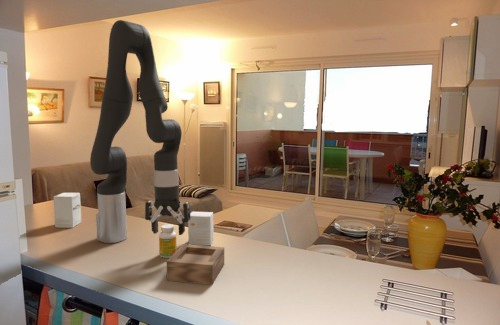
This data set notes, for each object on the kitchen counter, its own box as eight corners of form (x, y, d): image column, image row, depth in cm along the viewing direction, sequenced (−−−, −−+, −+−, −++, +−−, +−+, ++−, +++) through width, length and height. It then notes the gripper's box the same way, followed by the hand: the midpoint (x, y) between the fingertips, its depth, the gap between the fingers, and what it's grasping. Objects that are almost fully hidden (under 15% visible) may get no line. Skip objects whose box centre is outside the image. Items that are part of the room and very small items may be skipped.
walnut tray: (167, 280, 100) (166, 261, 99) (183, 261, 112) (183, 244, 111) (212, 284, 97) (212, 265, 97) (224, 264, 110) (224, 247, 109)
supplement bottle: (161, 259, 113) (161, 229, 112) (157, 253, 118) (157, 224, 117) (178, 256, 116) (178, 227, 114) (174, 250, 120) (173, 222, 119)
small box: (213, 240, 131) (213, 211, 129) (210, 245, 125) (210, 216, 124) (192, 239, 131) (191, 211, 130) (188, 244, 126) (187, 215, 124)
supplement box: (73, 228, 142) (71, 196, 140) (54, 227, 142) (52, 196, 140) (82, 222, 149) (80, 192, 148) (64, 222, 150) (62, 192, 148)
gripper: (139, 185, 111) (142, 236, 113) (184, 186, 108) (185, 238, 111) (150, 180, 118) (152, 228, 120) (192, 182, 116) (193, 231, 118)
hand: (168, 233), depth 116 cm, fingers open, 8 cm apart
